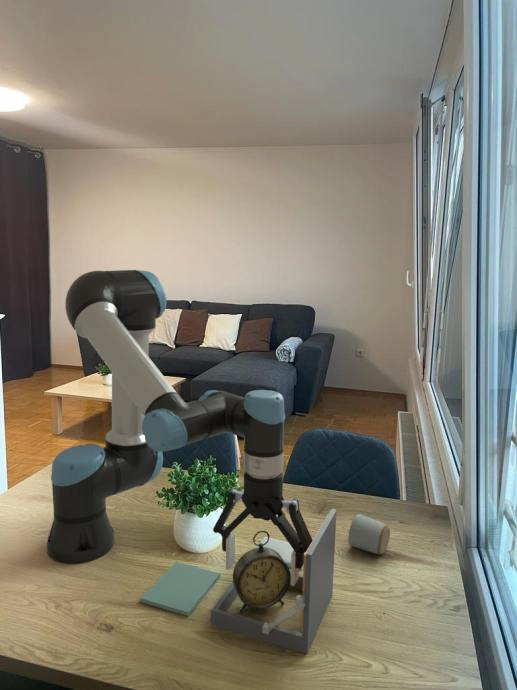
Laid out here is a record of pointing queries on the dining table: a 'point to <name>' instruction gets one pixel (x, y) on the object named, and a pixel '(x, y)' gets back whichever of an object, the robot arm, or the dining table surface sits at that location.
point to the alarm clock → (261, 577)
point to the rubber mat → (181, 588)
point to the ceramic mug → (368, 534)
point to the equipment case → (311, 602)
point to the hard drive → (280, 549)
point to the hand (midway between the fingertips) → (261, 573)
